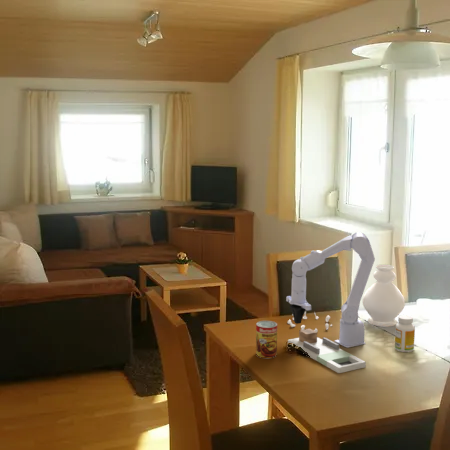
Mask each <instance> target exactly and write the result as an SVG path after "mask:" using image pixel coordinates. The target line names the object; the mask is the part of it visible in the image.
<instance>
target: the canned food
mask: <svg viewBox="0 0 450 450" xmlns="http://www.w3.org/2000/svg"><path fill="white" fill-rule="evenodd" d="M255 325H256V328H255V331H256V332H255V355H256V354H257V355H258V356H261V357H273V358H275V357H277V356H276V355H278V323H277V322H275V321H274V320H273V321H272V320H260V321H257V322H256V324H255ZM257 355H256V356H257ZM258 356H257V357H258ZM274 356H275V357H274ZM261 357H260V358H261Z"/></svg>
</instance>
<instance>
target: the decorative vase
mask: <svg viewBox="0 0 450 450" xmlns="http://www.w3.org/2000/svg"><path fill="white" fill-rule="evenodd" d="M375 268H376V269H377V270H375V271H374V272H373V273H372V274H373V278H374V279H375V280H376V281H375V282H374V283H372V284H371V286H369V287H368V289H366V291H364V293H363V295H362V306H363V308H364V310H365V311H366V312H367V314H368V315H369V316H370V317H369V318H368V319H367V323H369V324H371V325H373V326H376V327H381V328H382V327H383V328H384V327H385V328H387V327H390V328H391V327H396V324H397V323H398V320H397V319H396V318H398V317H399V316H400V314H401V313H402V312H403V310H404V308H405V305H406V303H405V302H406V300H405V297H404V295H403V294H402V292H401V291H400V289H399V288H398V287H397V285H396V284H394V282H393V281H394V280H395V279H397V278H396V277H397V274H396V273H395V272H394V271H393V270H395V266H394V265H392V264H386V263H385V264H376V266H375Z"/></svg>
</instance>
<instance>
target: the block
mask: <svg viewBox="0 0 450 450" xmlns="http://www.w3.org/2000/svg"><path fill="white" fill-rule="evenodd" d="M317 337H318V331H317V332H316V331H314V329H311V328H306V329H305V328H304V330H301V329H300V330H299V333H298V338H299V340H300V341H301V342H304V341H306V342H308V343H315V342H317Z"/></svg>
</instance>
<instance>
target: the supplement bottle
mask: <svg viewBox="0 0 450 450" xmlns="http://www.w3.org/2000/svg"><path fill="white" fill-rule="evenodd" d="M413 321H414V317H413V316H412V315H404V314H403V315H398V320H397V324H396V325H395V330H394V331H395V332H394V334H395V335H394V349H395V350H396V351H398V352H402V353H410V352H413V351H414V349H415V330H416V328H415V325H414V324H413V323H414V322H413Z"/></svg>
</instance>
